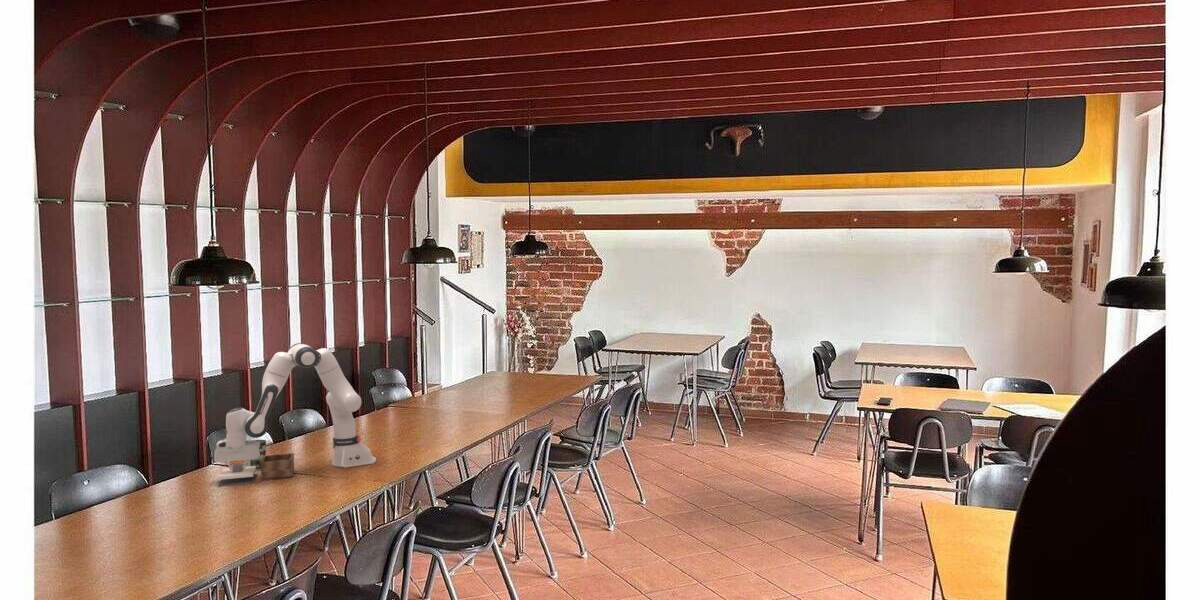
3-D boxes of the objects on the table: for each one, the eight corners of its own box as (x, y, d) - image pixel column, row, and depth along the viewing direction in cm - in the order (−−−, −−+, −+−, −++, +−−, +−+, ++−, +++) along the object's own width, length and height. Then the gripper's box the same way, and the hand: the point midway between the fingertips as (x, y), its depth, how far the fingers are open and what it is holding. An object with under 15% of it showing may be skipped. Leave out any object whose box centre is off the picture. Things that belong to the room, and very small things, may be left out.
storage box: (294, 470, 394) (293, 453, 394) (292, 477, 381) (291, 459, 380) (264, 473, 390) (263, 455, 389) (261, 480, 377) (260, 462, 376)
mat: (257, 474, 388) (257, 473, 388) (254, 483, 373) (254, 482, 373) (222, 477, 383) (222, 476, 383) (217, 486, 368) (217, 485, 368)
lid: (256, 468, 387) (256, 459, 387) (252, 476, 373) (252, 467, 373) (223, 471, 383) (223, 462, 382) (218, 479, 368) (218, 470, 368)
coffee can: (271, 466, 403) (270, 439, 402) (258, 471, 393) (257, 444, 392) (253, 465, 405) (252, 439, 404) (241, 470, 395) (239, 443, 394)
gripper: (260, 438, 383) (261, 465, 384) (214, 441, 377) (216, 469, 378) (258, 441, 377) (260, 468, 378) (212, 444, 371) (213, 473, 372)
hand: (237, 469), depth 378 cm, fingers closed on lid, 4 cm apart
